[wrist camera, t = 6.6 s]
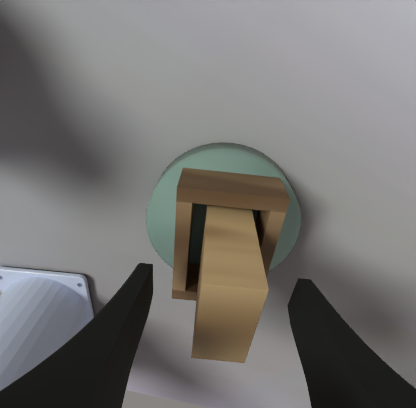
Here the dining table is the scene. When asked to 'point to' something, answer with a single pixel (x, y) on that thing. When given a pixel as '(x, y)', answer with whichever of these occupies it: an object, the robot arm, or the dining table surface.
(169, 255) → the pale green domed part
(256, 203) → the brown wooden rectangular frame
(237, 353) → the block
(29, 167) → the dining table surface
